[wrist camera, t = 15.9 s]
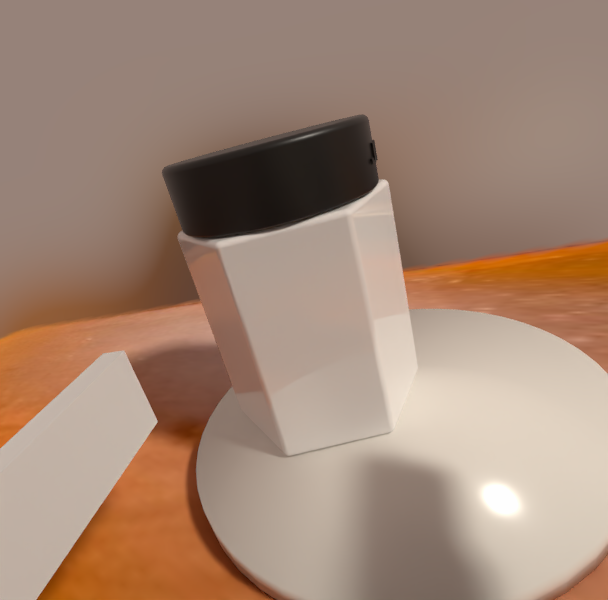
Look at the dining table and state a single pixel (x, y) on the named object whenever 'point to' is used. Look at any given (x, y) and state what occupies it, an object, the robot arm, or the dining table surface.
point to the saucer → (430, 479)
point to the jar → (301, 281)
